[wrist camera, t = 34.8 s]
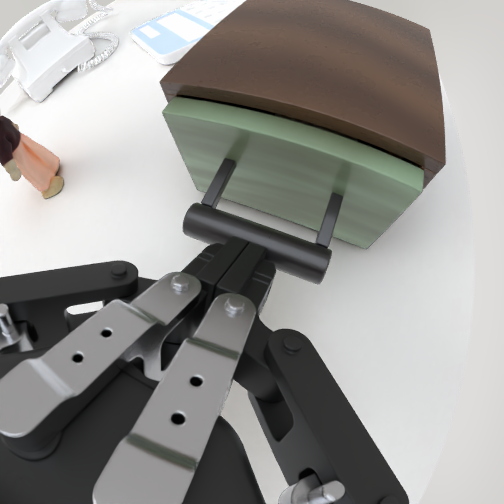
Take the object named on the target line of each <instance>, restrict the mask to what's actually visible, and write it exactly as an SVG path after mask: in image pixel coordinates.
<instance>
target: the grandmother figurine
mask: <svg viewBox="0 0 504 504" xmlns="http://www.w3.org/2000/svg"><path fill="white" fill-rule="evenodd" d="M18 129H19V127H18V125H17V124H14V123H13V122H12V121H11V120H10V119H8V118H6V117H4V116H0V163H1V164H2V166H3V167H4V168H5V169H6V171H7V172H8V173H9V174H10V176H11V178H12V180H14V181H17V180H19V179H20V177H21V175H23V176H24V177H25V178H26V179H27V180H28V181H29V182H30V183H31V184H32V185H33V186H34V187H35V188H37V189H38V190H39V191H42V196H43V198H44V199H47V198H49V197H52V196H54V195H56V194H57V193H59V192H60V190H61V189H62V187H63V178H62V177H60V176H55V174H56V173H57V171H58V169H59V162H60V160H59V158H58V157H57V156H55V155H54V154H53V153H52V152H50V151H49V150H47V149H46V148H45V147H43V146H42V145H40V144H38V143H36V142H35V141H33V140H32V139H30V138H29V137H27V136H26V135H24V134H22V133H20V132H19V131H18Z"/></svg>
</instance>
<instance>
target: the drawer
mask: <svg viewBox="0 0 504 504" xmlns="http://www.w3.org/2000/svg"><path fill="white" fill-rule="evenodd" d="M162 114H163V116H164V118H165V121H166V123H167V125H168V127H169V129H170V132H171V134H172V136H173V138H174V141H175V143H176V145H177V147H178V149H179V152H180V154H181V156H182V158H183V160H184V162H185V165H186V167H187V169H188V171H189V173H190V175H191V178H192V180H193V182H194V184H195V186H196V188H197V190H199V191H202V192H205V193H206V194H205V196H204V198H203V200H202V201H201V203H202V204H200V203H194V204H192V205H191V206H190V208H189V209H188V211H187V213H186V215H185V218H184V221H183V232H184V234H185V235H187V236H189V237H192V238H195V239H197V240H200V241H202V242H205V243H208V244H210V245H212V244H215V243H221V244H223V245H225V244H226V243H227V242H228V241H229V239H230V238H231V237H232V236H235V237H238V238H241V239H243V240H246V241H249V242H252V243H254V244H257V245H260V246H263V247H266V248H267V251H266V255H265V258H264V260H267V261H270V262H272V263H274V264H275V268H276V269H277V270H280V271H282V272H285V273H288V274H290V275H293V276H296V277H299V278H301V279H304V280H307V281H309V282H312V283H315V284H317V285H318V284H320V283H321V282H322V280H323V278H324V276H325V273H326V271H327V268H328V265H329V262H330V259H331V255H332V251H331V250H330V249H327V248H328V247H329V244H330V240H331V237H332V236H333V237H336V238H338V239H341V240H344V241H346V242H349V243H351V244H354V245H357V246H359V247H362V248H364V249H367V248H368V247H370V246H371V245H372V244H373V243H374V242H375V241H376V240H377V239H378V238H379V237H380V236H381V235H382V234H383V233H384V232H385V231H386V230H387V229H388V228H389V227H390V226H391V225H392V223H393V222H394V221H395V220H396V219H397V218H398V217H399V216H400V215H401V214H402V213H403V212H404V211H405V210H406V209H407V208H408V207H409V206H410V205H411V204H412V202H413V201H414V200H415V199H416V198H417V197H418V196H419V195H420V194H421V193H422V191H423V180H424V170H423V169H420V168H418V167H416V166H414V165H412V164H410V163H408V162H405V161H403V160H401V159H402V158H403V157H401V156H399V155H397V154H394V153H392V152H390V151H387V150H385V149H383V148H380V147H378V146H375V145H373V144H370V143H368V142H365V141H362V140H360V139H358V142H357V141H354V140H351V139H348V138H345V137H343V136H340V135H337V134H334V133H331V132H328V131H325V130H322V129H319V128H316V127H312V126H309V125H306V124H302V123H299V122H296V121H292V120H288V119H285V118H281V117H277V116H275V114H276V113H273V112H269V111H265V110H261V109H257V108H252V107H248V106H243V105H239V104H234V103H229V102H223V101H218V100H212V99H206V98H204V101H202V100H196V99H189V98H182V97H173V99H172V100H171V101H170V102H169V104H168V105H167V106H166V108H165V109H164V110H163V112H162ZM220 198H224V199H227V200H230V201H233V202H236V203H239V204H242V205H245V206H248V207H251V208H254V209H257V210H260V211H263V212H266V213H269V214H272V215H275V216H278V217H280V218H283V219H286V220H289V221H292V222H295V223H297V224H300V225H303V226H306V227H309V228H311V229H314V230H317V231H319V232H318V235H317V238H316V241H315V244H314V243H311V242H309V241H306V240H303V239H300V238H298V237H295V236H292V235H289V234H286V233H284V232H281V231H278V230H275V229H272V228H270V227H267V226H264V225H261V224H258V223H255V222H253V221H250V220H247V219H244V218H241V217H238V216H235V215H232V214H229V213H226V212H224V211H221V210H218V209H215V208H216V206H217V204H218V202H219V200H220Z"/></svg>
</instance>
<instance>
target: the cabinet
mask: <svg viewBox="0 0 504 504" xmlns="http://www.w3.org/2000/svg"><path fill="white" fill-rule="evenodd" d="M160 84H161V87H162V89H163V92H164V94H165V97H166V99H167V102H168V104H169V102H170V101H171V100H172V99H173V97H182V98H189V99H196V100H202V101H204V98H206V99H212V100H218V101H223V102H229V103H234V104H239V105H243V106H248V107H252V108H257V109H261V110H265V111H269V112H273V113H277V114H281V115H285V116H289V117H292V118H296V119H299V120H303V121H306V122H309V123H313V124H316V125H319V126H322V127H325V128H328V129H331V130H334V131H337V132H340V133H343V134H346V135H349V136H352V137H354V138H357V139H360V140H362V141H365V142H368V143H370V144H373V145H375V146H378V147H380V148H383V149H385V150H387V151H390V152H392V153H394V154H397V155H399V156H401V157H403V158H402V159H401V160H403V161H405V162H408V163H410V164H412V165H414V166H416V167H418V168H420V169H423V170H424V180H423V189H424V188H425V187H426V186H427V185H428V183H429V182H430V181H431V180H432V179H433V178H434V177H435V176H436V174H437V173H438V172H439V171H440V170H441V169H442V168H443V167H444V165H445V129H444V115H443V104H442V95H441V87H440V80H439V74H438V68H437V62H436V57H435V52H434V47H433V43H432V38H431V34H430V30H429V29H427V28H425V27H423V26H421V25H418V24H416V23H414V22H411V21H409V20H407V19H404V18H401V17H399V16H396V15H394V14H391V13H388V12H385V11H382V10H379V9H377V8H373V7H370V6H367V5H364V4H360V3H357V2H353V1H350V0H246V1H245V2H243V3H242V4H241V5H240V6H238V7H237V8H236V9H235V10H233V11H232V12H231V13H230V14H228V15H227V16H226V17H225V18H224V19H222V20H221V21H220V22H219V23H218V24H217V25H216V26H214V27H213V28H212V29H211V30H210V31H209V32H208V33H207V34H206V35H204V36H203V37H202V38H201V39H200V40H199V41H198V42H197V43H196V44H195V45H194V46H193V47H192V48H191V49H190V50H189V51H188V52H187V53H186V54H185V55H184V56H183V57H182V58H181V59H180V60H179V61H178V62H177V63H176V64H175V65H174V66H173V67H172V68H171V70H170V71H169V72H168V73H167V74H166V75H165V76H164V77H163V78H162V80H161V81H160Z"/></svg>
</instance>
